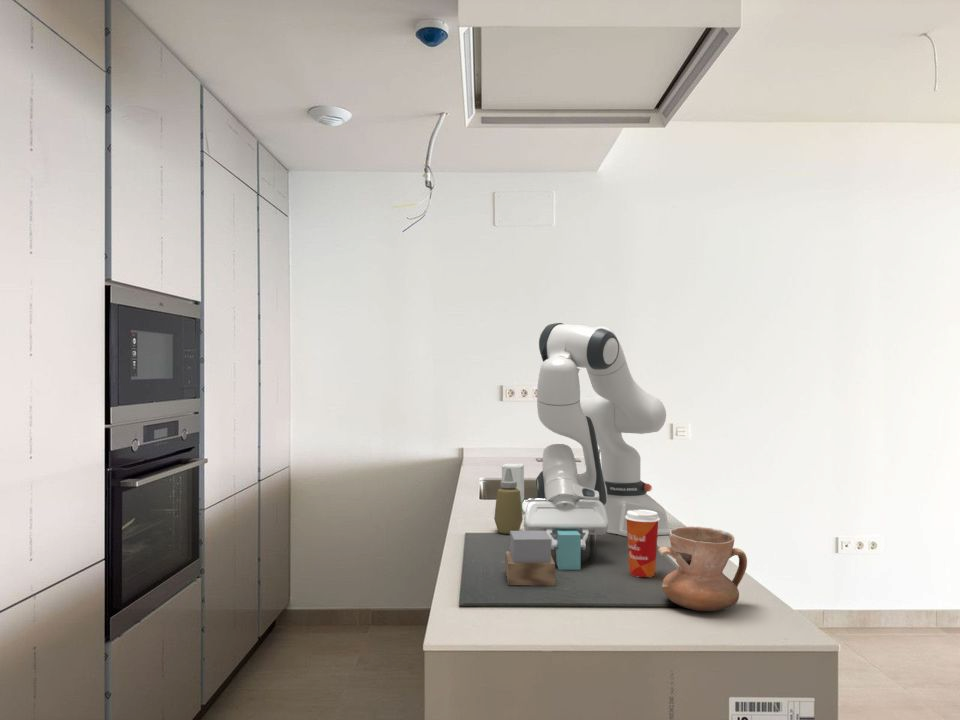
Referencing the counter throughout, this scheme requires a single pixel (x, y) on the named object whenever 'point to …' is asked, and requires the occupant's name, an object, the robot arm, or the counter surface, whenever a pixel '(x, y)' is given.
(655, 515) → the paper cup
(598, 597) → the counter surface
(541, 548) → the grey top block
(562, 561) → the teal block
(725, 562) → the ceramic jug
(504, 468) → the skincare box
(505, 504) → the squeeze bottle
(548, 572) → the walnut base block
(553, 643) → the counter surface
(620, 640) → the counter surface
